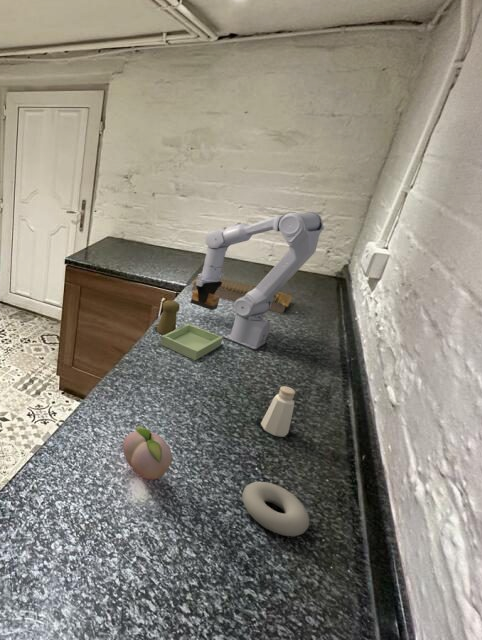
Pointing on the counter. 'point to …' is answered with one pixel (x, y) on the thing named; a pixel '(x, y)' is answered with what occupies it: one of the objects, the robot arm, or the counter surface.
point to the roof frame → (245, 289)
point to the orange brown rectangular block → (210, 302)
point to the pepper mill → (168, 317)
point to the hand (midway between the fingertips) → (204, 300)
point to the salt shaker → (279, 413)
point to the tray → (191, 341)
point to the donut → (276, 522)
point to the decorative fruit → (147, 453)
